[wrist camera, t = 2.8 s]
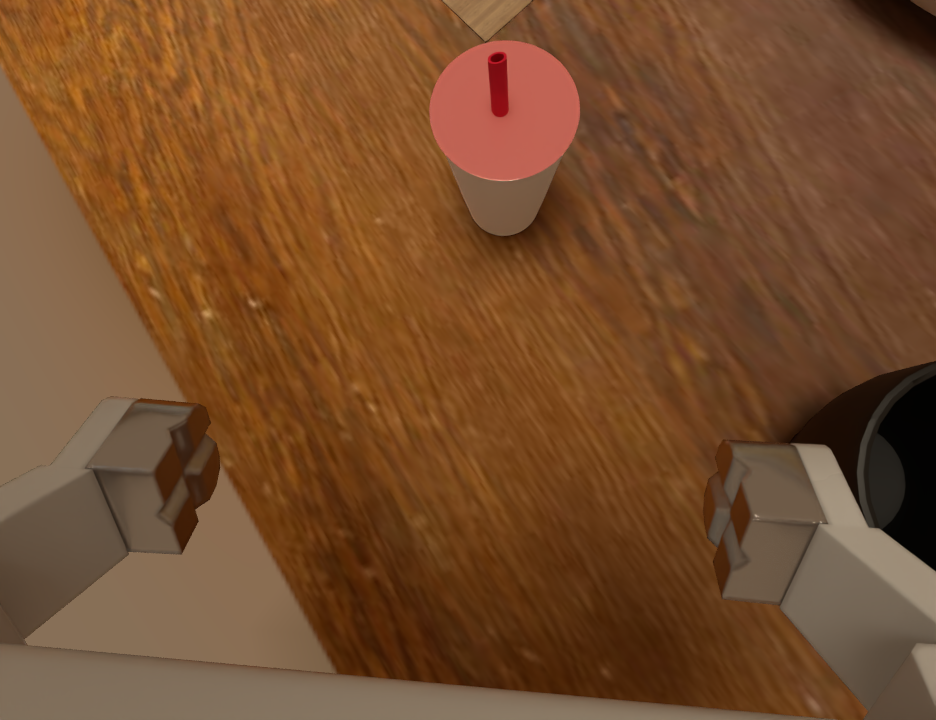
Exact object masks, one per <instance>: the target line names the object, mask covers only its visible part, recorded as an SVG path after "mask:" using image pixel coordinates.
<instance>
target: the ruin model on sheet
mask: <svg viewBox="0 0 936 720" xmlns="http://www.w3.org/2000/svg"><path fill="white" fill-rule="evenodd" d="M442 1H443V2H444V3H445V4H446V5H448V6H449V7H450V8H451V9H452V10H453V11H454V12H455V13H456V14H457V15H458V16H459V17H460V18H461V19H462V20H463V21H464V22H465V23H466V24H467V25H468V26H470V27H471V28H472V29H473V30H474V31H475V32H476V33H477V34H478V35H479V36H480V37H481V38H482V39H483V40H484V41H485V42H486V41H487V40H489V39H490V38H491V37H492V36H493V35H494V34H495V33H496V32H498V31H499V30H500V29H501V28H502V27H503V26H504V25H505V24H507V23H508V22H509V21H510V20H511V19H512V18H513V17H514V16H515V15H517V14H518V13H519V12H520V11H521V10H522V9H523V8H524V7H526V6H527V5H528V4H529V3H530V2H531V1H532V0H442Z"/></svg>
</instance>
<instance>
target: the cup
mask: <svg viewBox="0 0 936 720" xmlns="http://www.w3.org/2000/svg"><path fill="white" fill-rule="evenodd" d="M579 117H580V102H579V96H578V92H577V89H576V86H575V83H574V81H573V79H572V77H571V76H570V74H569V73H568V71H567V70H566V68H565V67H564V66H563V65H562V64H561V63H560V62H559V61H558V60H557V59H556V58H555V57H553V56H552V55H551V54H549V53H548V52H546V51H544V50H543V49H541V48H539V47H536V46H534V45H531V44H528V43H524V42H518V41H494V42H488V43H485V44H481V45H478V46H476V47H473V48H471V49H469V50H467V51H466V52H464V53H462V54H461V55H459V56H458V57H457V58H456V59H454V60H453V61H452V62H451V63H450V64H449V65H448V66H447V67H446V69H445V70H444V71H443V72H442V74H441V75H440V77H439V79H438V81H437V82H436V85H435V87H434V90H433V93H432V96H431V101H430V123H431V128H432V131H433V134H434V137H435V139H436V141H437V143H438V145H439V147H440V148H441V150H442V151H443V153H444V154H445V155H446V157H447V160H448V162H449V165H450V167H451V169H452V172H453V174H454V177H455V179H456V181H457V184H458V186H459V189H460V191H461V193H462V196H463V198H464V200H465V203H466V205H467V207H468V209H469V211H470V214H471V216H472V218H473V220H474V221H475V222H476V224H477V225H478V226H479V227H480V228H482V229H483V230H485V231H486V232H488V233H491V234H494V235H498V236H509V235H514V234H517V233H519V232H521V231H523V230H524V229H526V228H527V227H528V226H529V225H530V224H531V223H532V222H533V220H534V219H535V217H536V215H537V213H538V211H539V208H540V206H541V204H542V202H543V200H544V198H545V195H546V193H547V191H548V188H549V186H550V184H551V181H552V179H553V177H554V174H555V172H556V170H557V167H558V165H559V163H560V160H561V158H562V155H563V154H564V152H565V151H566V150H567V148H568V147H569V145H570V144H571V142H572V140H573V138H574V136H575V133H576V130H577V127H578V123H579Z"/></svg>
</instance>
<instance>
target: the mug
mask: <svg viewBox="0 0 936 720" xmlns="http://www.w3.org/2000/svg"><path fill="white" fill-rule="evenodd" d="M791 443H799V444H818V445H826V446H827V447H829V448H830V449H831V450H832V453H833V455H834V457H835V459H836V461H837V463H838V465H839V467H840V469H841V471H842V473H843V475H844V477H845V479H846V481H847V483H848V486H849V488H850V490H851V492H852V494H853V496H854V498H855V500H856V502H857V504H858V506H859V508H860V510H861V512H862V514H863V516H864V519H865V521H866V523H867V525H868V527H869V528H879V529H881V530H882V531H883V532H884V533H886V534H887V535H888V536H890V537H891V538H892V539H894V540H895V541H896V542H898V543H899V544H900V545H901V546H903V547H904V548H905V549H907V550H908V551H909V552H911V553H912V554H913V555H915V556H916V557H917V558H919V559H920V560H921V561H922V562H924V563H925V564H926V565H928V566H929V567H930V568H932V569H933V570H934V571H936V361H934V362H930V363H926V364H921V365H917V366H914V367H910V368H906V369H902V370H898V371H894V372H890V373H886V374H883V375H879V376H877V377H875V378H872V379H870V380H868V381H866V382H864V383H862V384H860V385H858V386H856V387H854V388H852V389H850V390H849V391H847V392H845V393H843V394H841V395H840V396H838V397H837V398H835V399H834V400H832V401H831V402H830V403H829V404H828V405H826V406H825V407H824V408H823V409H822V410H821V411H819V412H818V413H817V414H816V415H815V416H814V417H813V418H811V419H810V420H809V422H808V423H807V424H806V425H805V426H804V428H803V429H802V430H801V431H800V432H799V433H798V434H797V435H796V436H795V437H794V438H793V440H792V441H791ZM791 443H790V444H791Z"/></svg>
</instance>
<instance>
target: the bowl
mask: <svg viewBox="0 0 936 720" xmlns="http://www.w3.org/2000/svg"><path fill="white" fill-rule="evenodd" d="M910 1H911V2H913V3H914V4H916V5H917V6H919V7H921V8H922V9H924V10H926V11H927V12H929V13H931V14H932V15H934V16H936V0H910Z"/></svg>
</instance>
